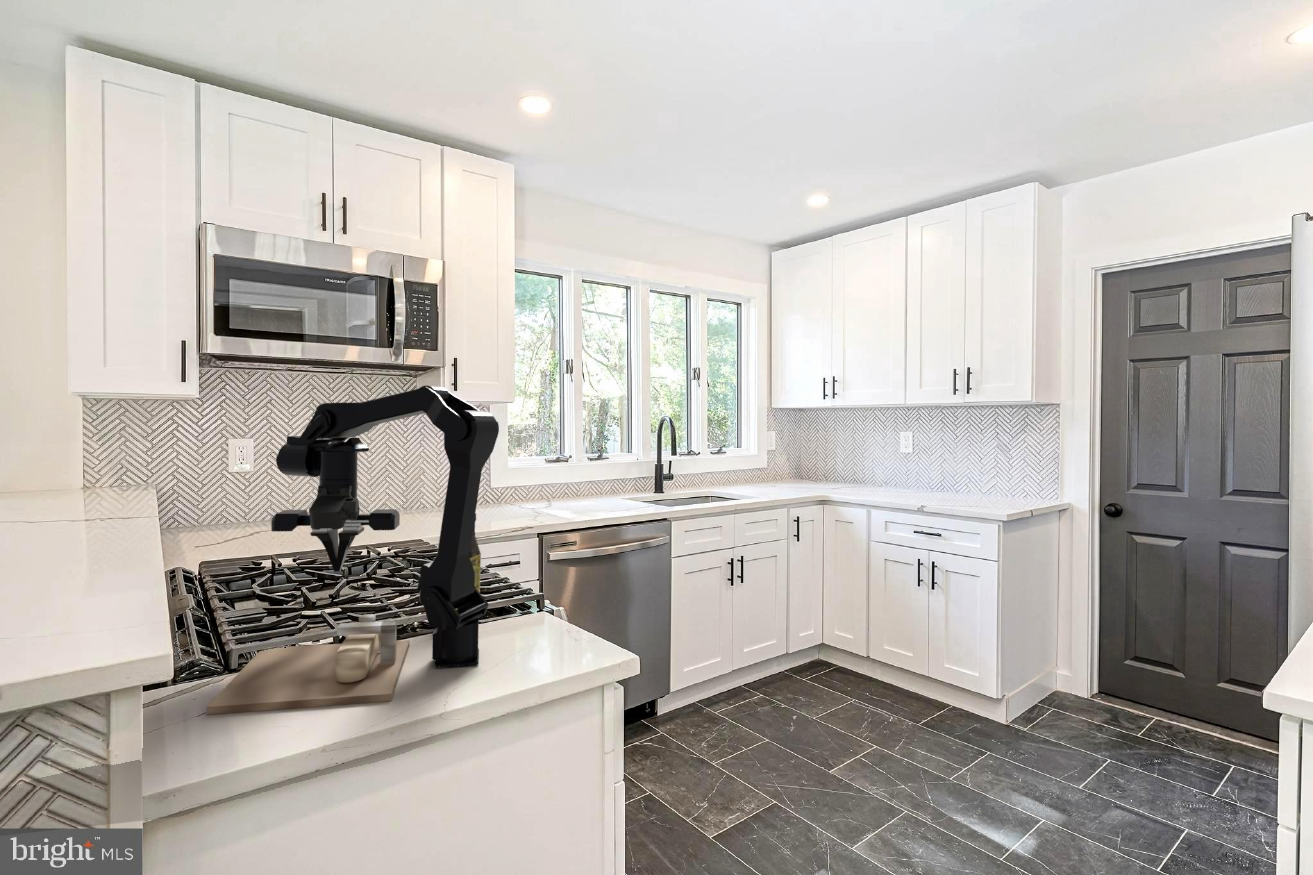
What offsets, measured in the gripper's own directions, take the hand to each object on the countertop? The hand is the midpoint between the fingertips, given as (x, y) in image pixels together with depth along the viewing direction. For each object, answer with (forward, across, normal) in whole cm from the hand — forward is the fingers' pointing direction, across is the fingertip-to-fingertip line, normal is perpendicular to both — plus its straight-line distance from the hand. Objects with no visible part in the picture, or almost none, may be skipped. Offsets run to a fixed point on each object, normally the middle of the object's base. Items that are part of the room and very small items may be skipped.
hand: (337, 571), depth 112 cm
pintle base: (+12, +2, -15) cm, 19 cm away
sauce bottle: (+12, +20, +13) cm, 26 cm away
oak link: (+11, +6, -14) cm, 18 cm away
